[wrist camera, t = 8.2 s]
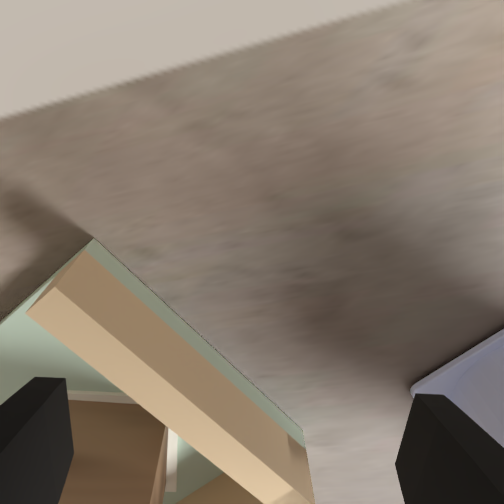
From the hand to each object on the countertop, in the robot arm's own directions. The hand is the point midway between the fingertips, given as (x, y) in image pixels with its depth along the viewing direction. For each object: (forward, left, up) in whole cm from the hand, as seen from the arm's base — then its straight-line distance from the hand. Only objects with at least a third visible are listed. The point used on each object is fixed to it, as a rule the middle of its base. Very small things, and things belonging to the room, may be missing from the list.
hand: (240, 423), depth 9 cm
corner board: (-3, +14, -10) cm, 17 cm away
